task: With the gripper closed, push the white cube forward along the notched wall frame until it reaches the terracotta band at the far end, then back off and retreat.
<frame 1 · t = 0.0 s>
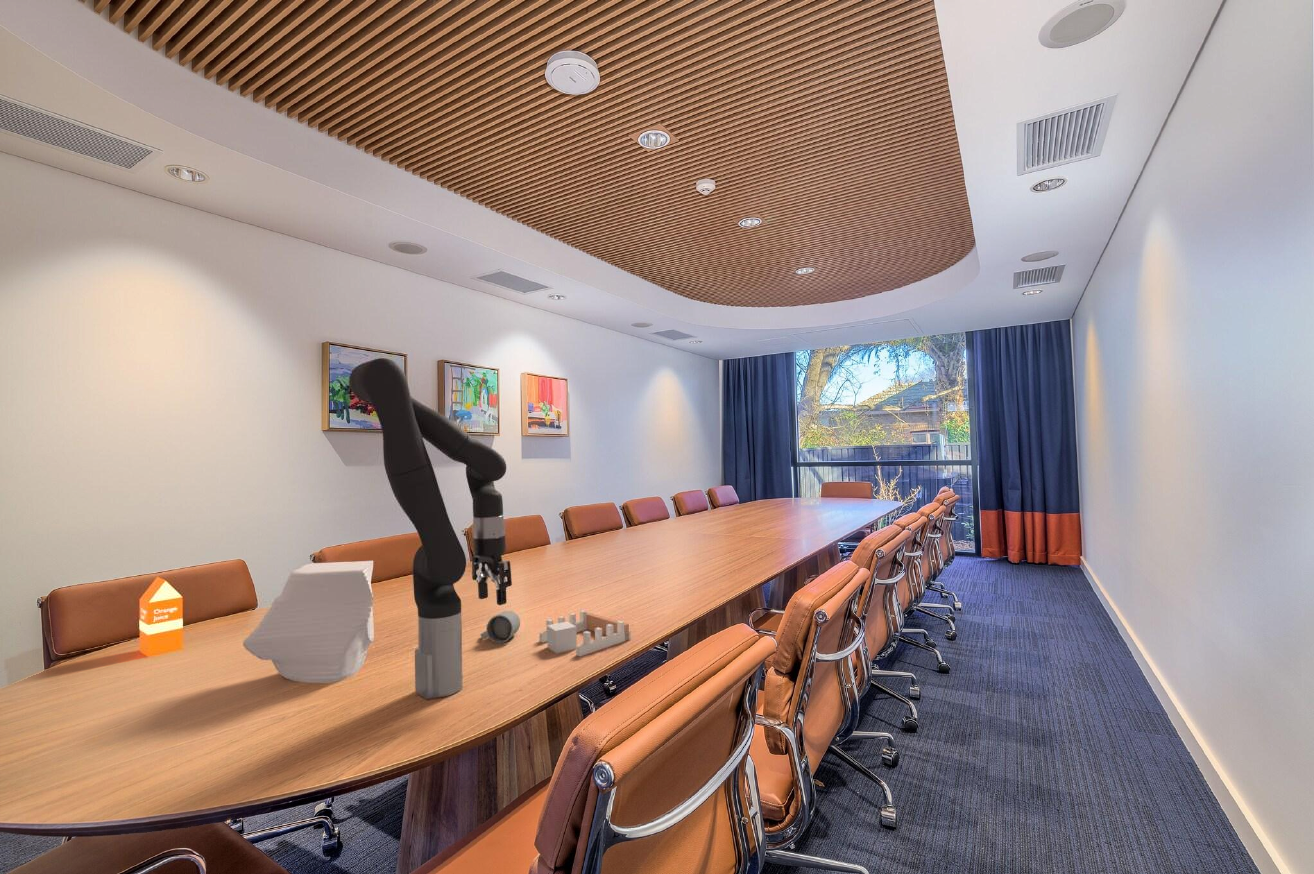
hand: (492, 601, 142), 17 cm above the table, tool pointing down, fingers open, 8 cm apart
orange juice: (161, 650, 164), on the table
ceramic mug: (499, 639, 167), on the table
white cube: (562, 648, 158), on the table
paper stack: (323, 670, 146), on the table
notched wall frame: (585, 640, 164), on the table
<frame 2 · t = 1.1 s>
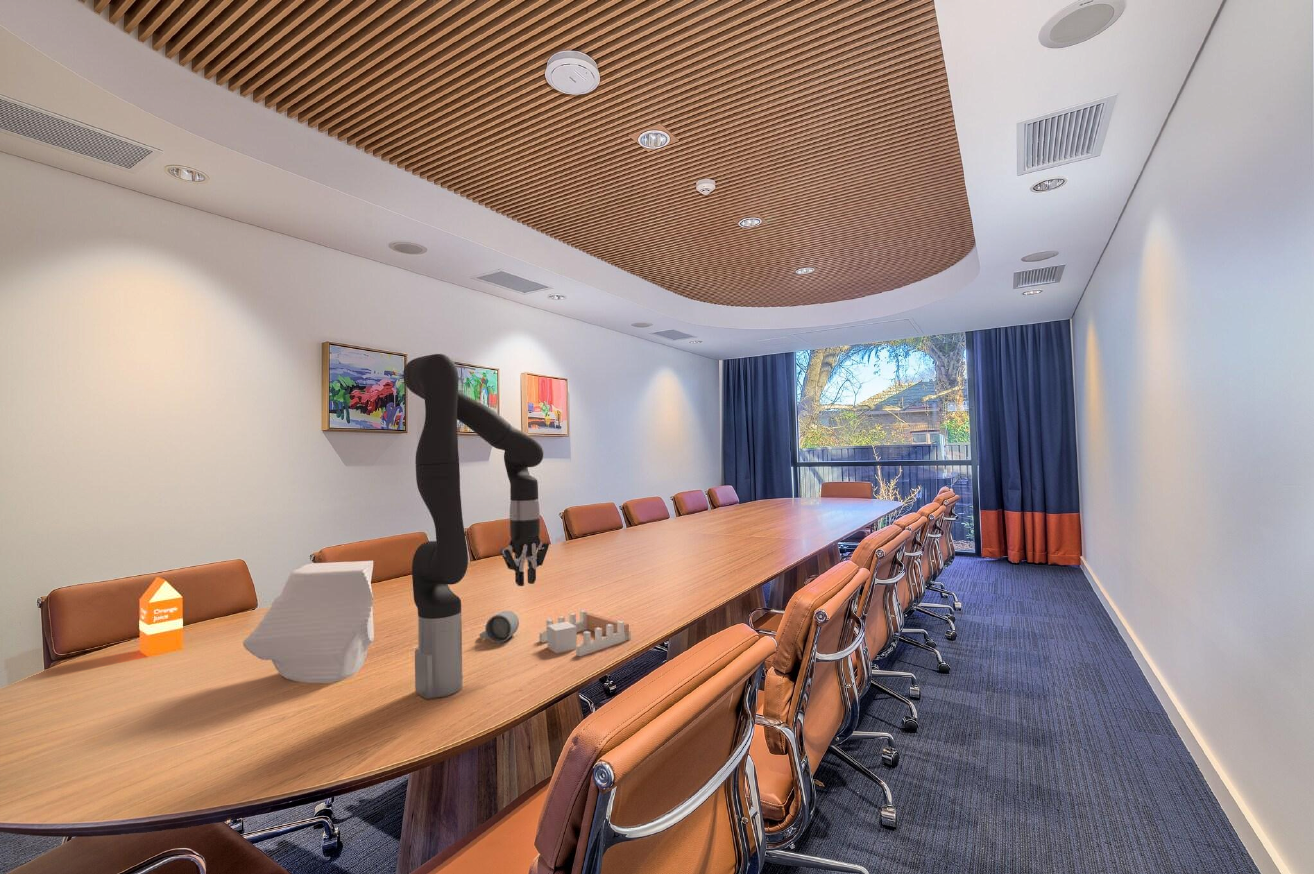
hand: (525, 584, 151), 19 cm above the table, tool pointing down, fingers closed
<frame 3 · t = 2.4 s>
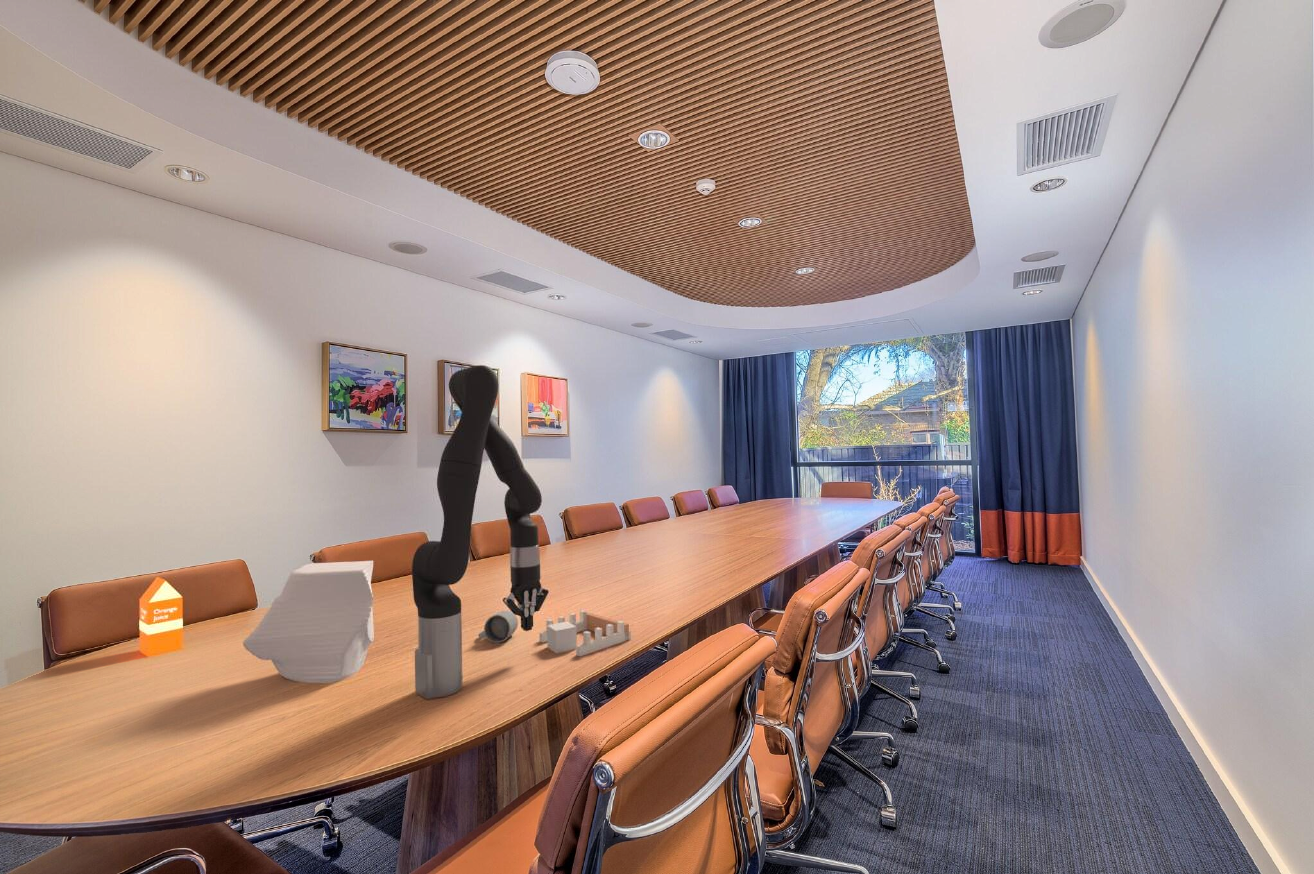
hand: (527, 629, 151), 7 cm above the table, tool pointing down, fingers closed
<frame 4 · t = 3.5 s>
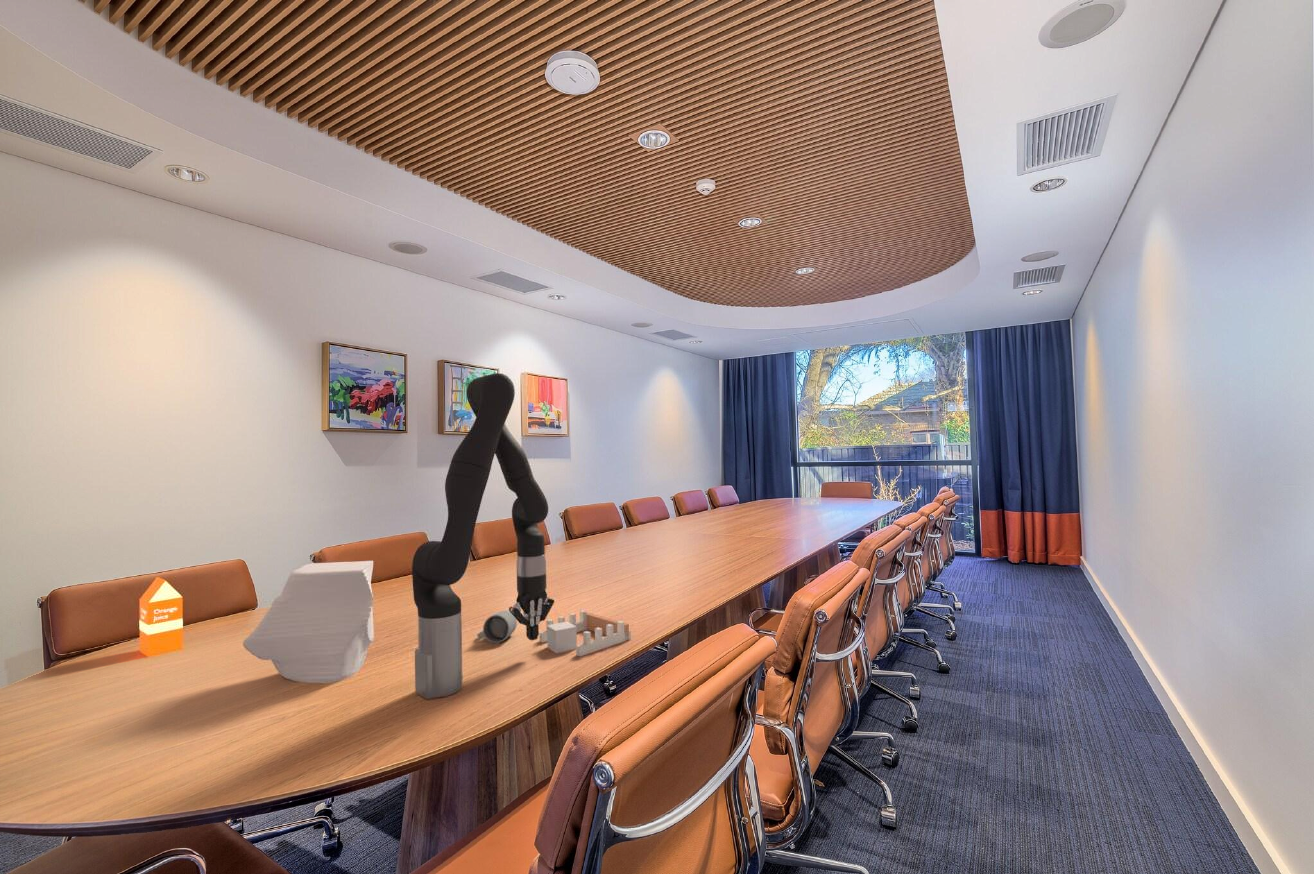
hand: (532, 639, 152), 5 cm above the table, tool pointing down, fingers closed
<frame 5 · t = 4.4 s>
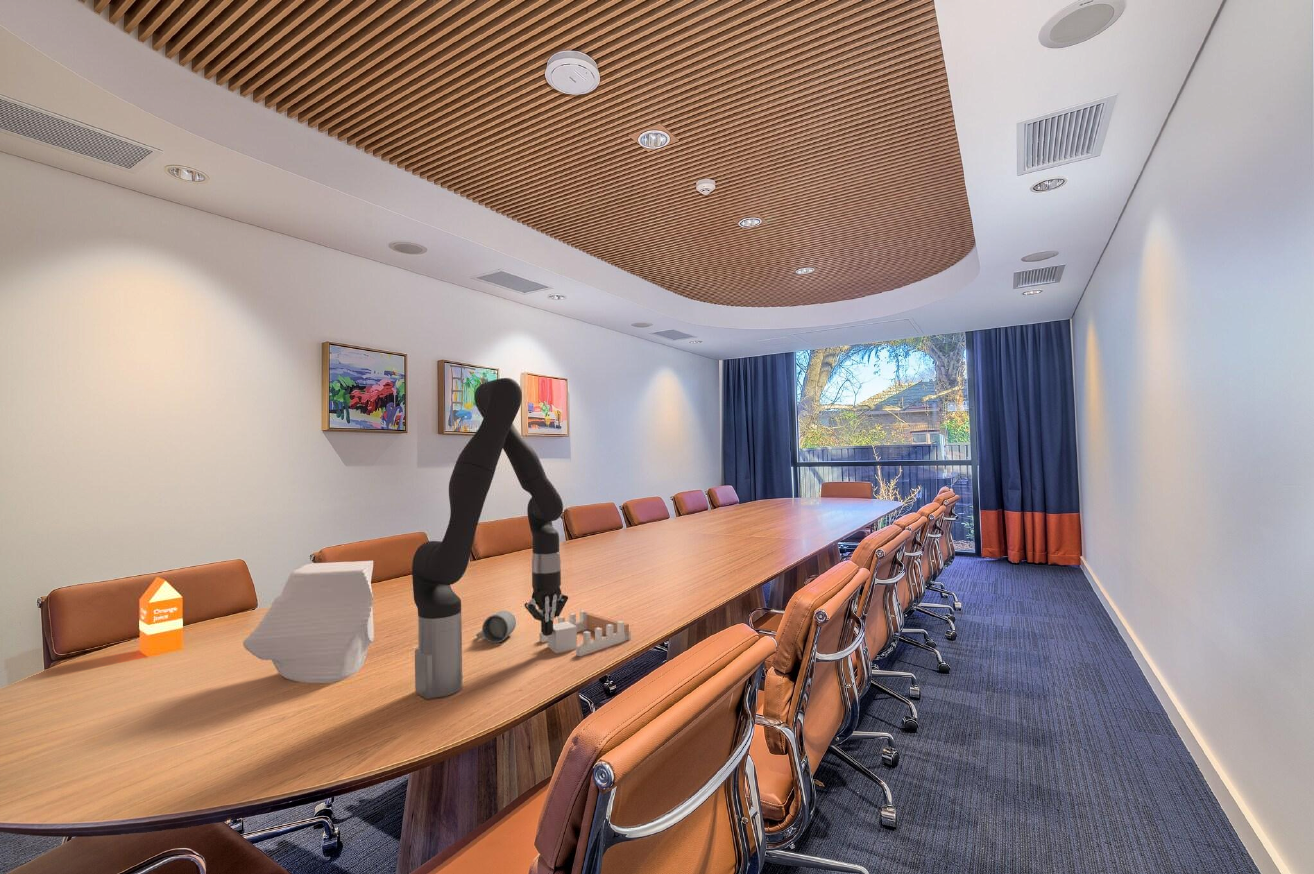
hand: (547, 634, 155), 5 cm above the table, tool pointing down, fingers closed
white cube: (562, 648, 158), on the table, touching gripper
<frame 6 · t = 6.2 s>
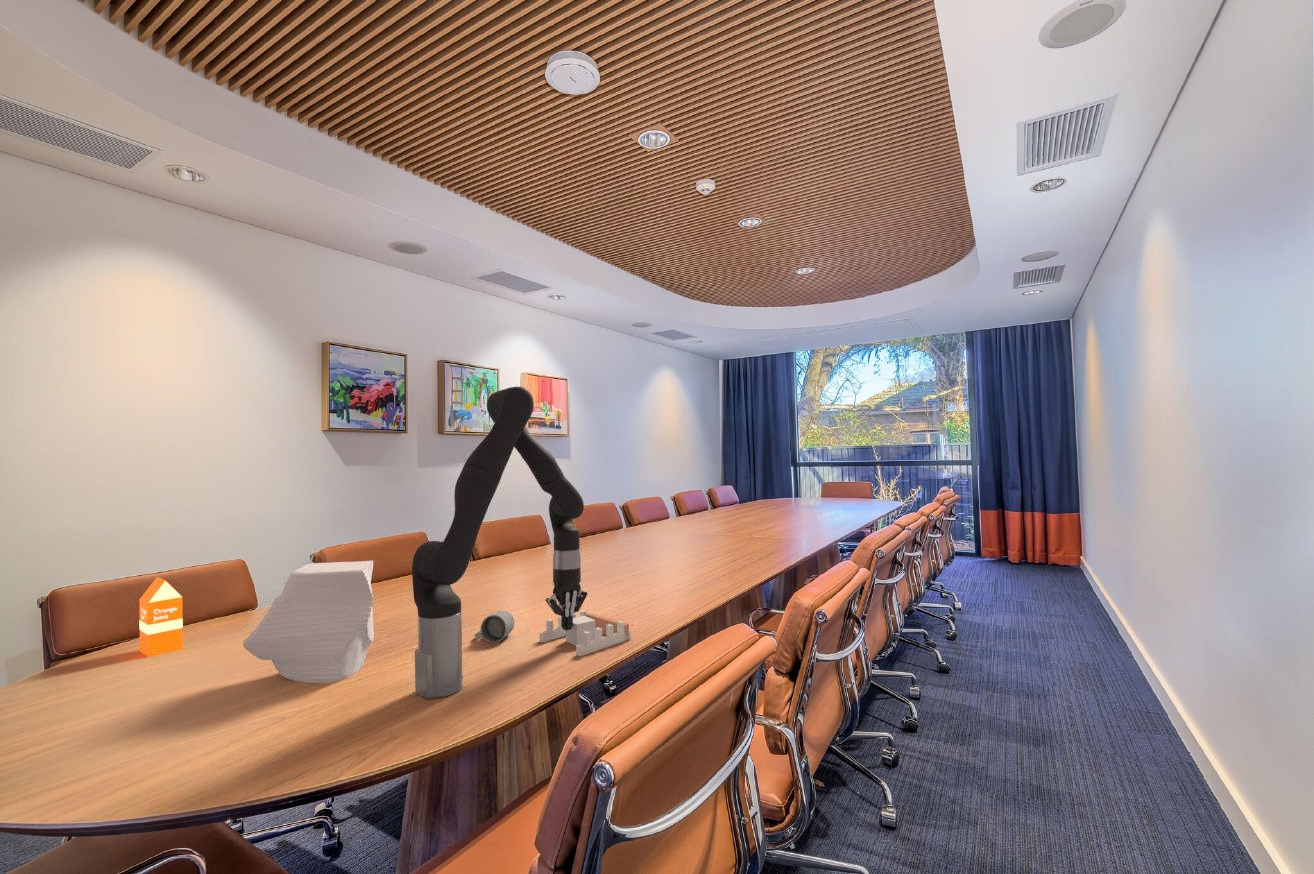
hand: (567, 629, 160), 4 cm above the table, tool pointing down, fingers closed
white cube: (580, 642, 163), on the table, touching gripper
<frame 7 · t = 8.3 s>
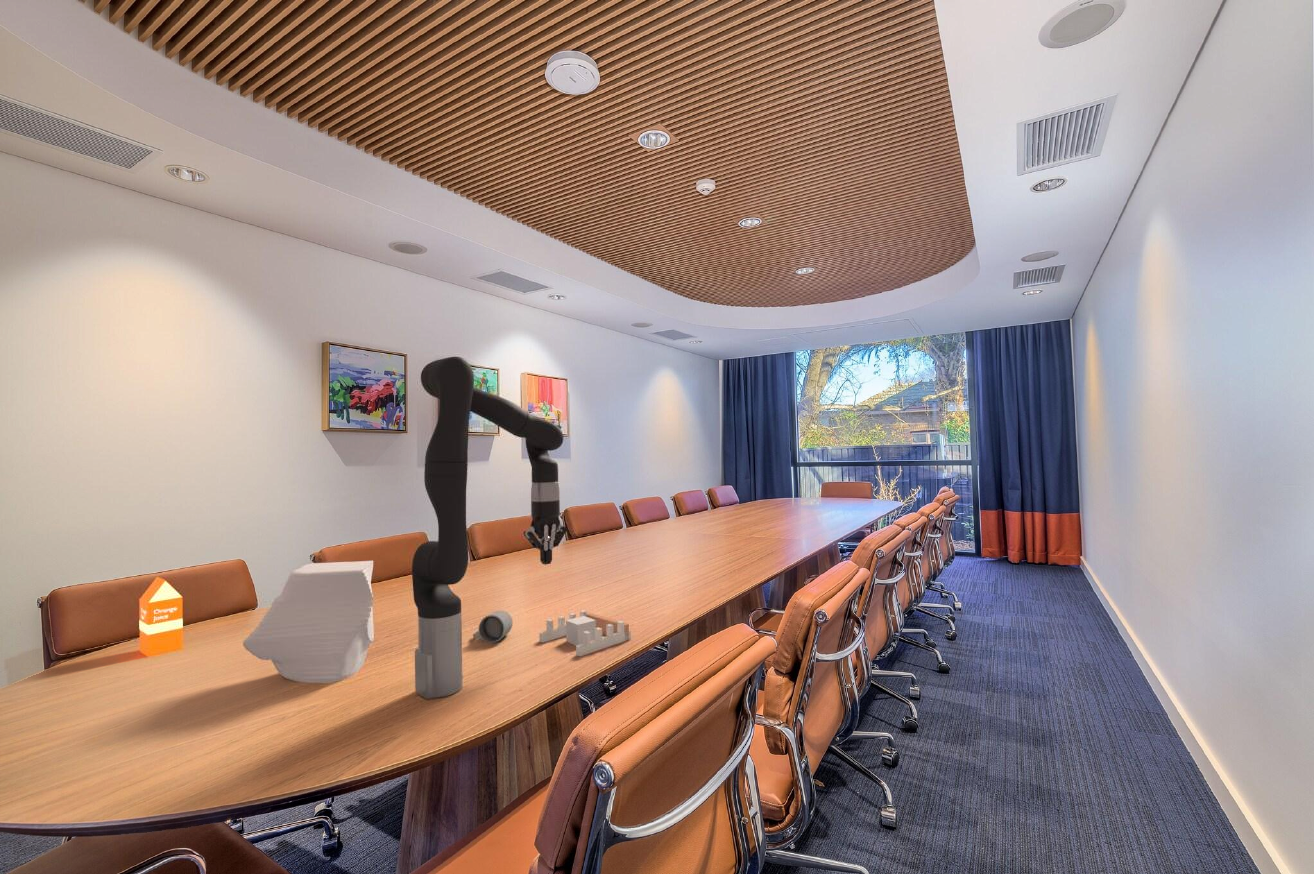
hand: (546, 563, 156), 23 cm above the table, tool pointing down, fingers closed
white cube: (581, 642, 163), on the table
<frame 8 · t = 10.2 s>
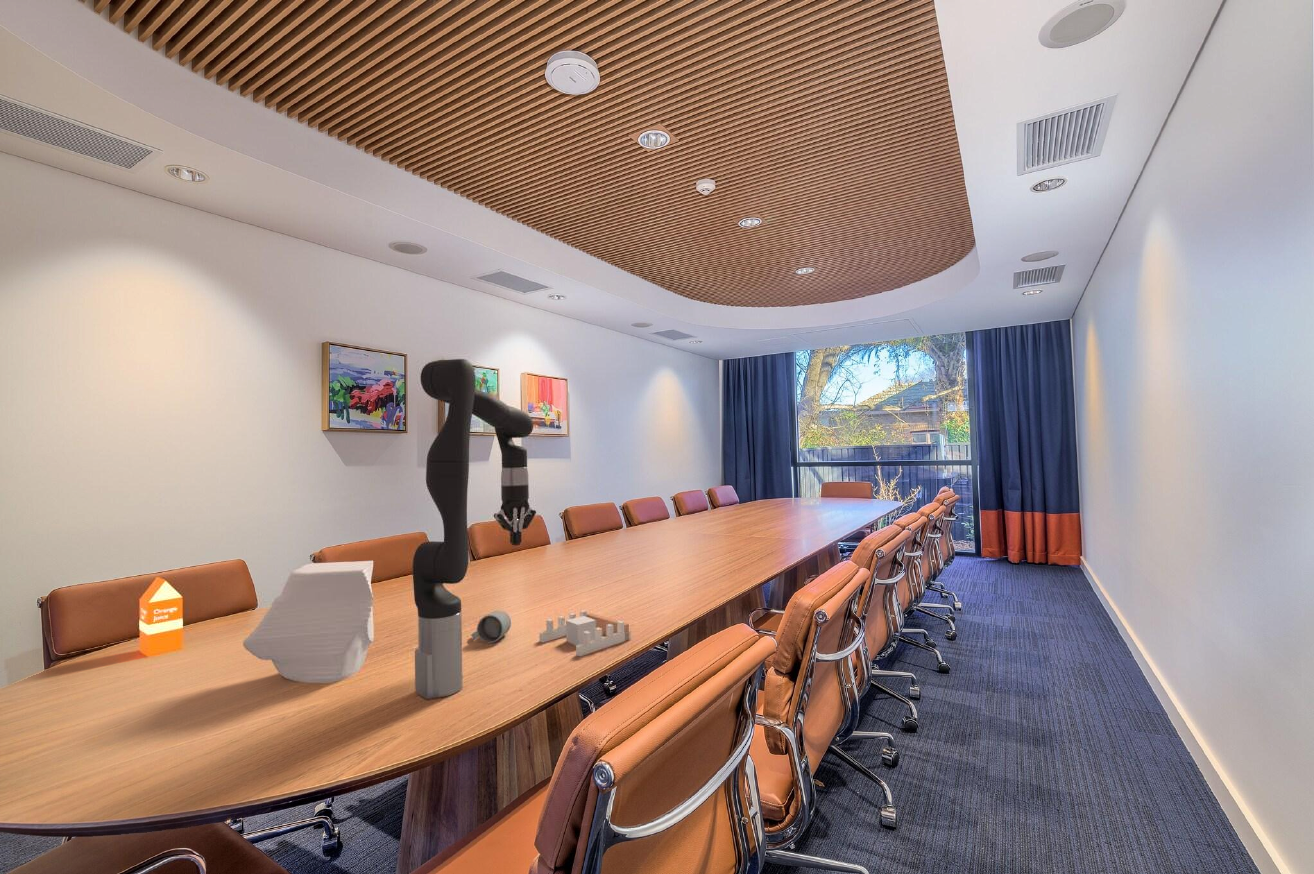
hand: (515, 545, 165), 27 cm above the table, tool pointing down, fingers closed
at the end: white cube inside the target area (3.3 cm from its centre), on the table; white cube tilted 0° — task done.
